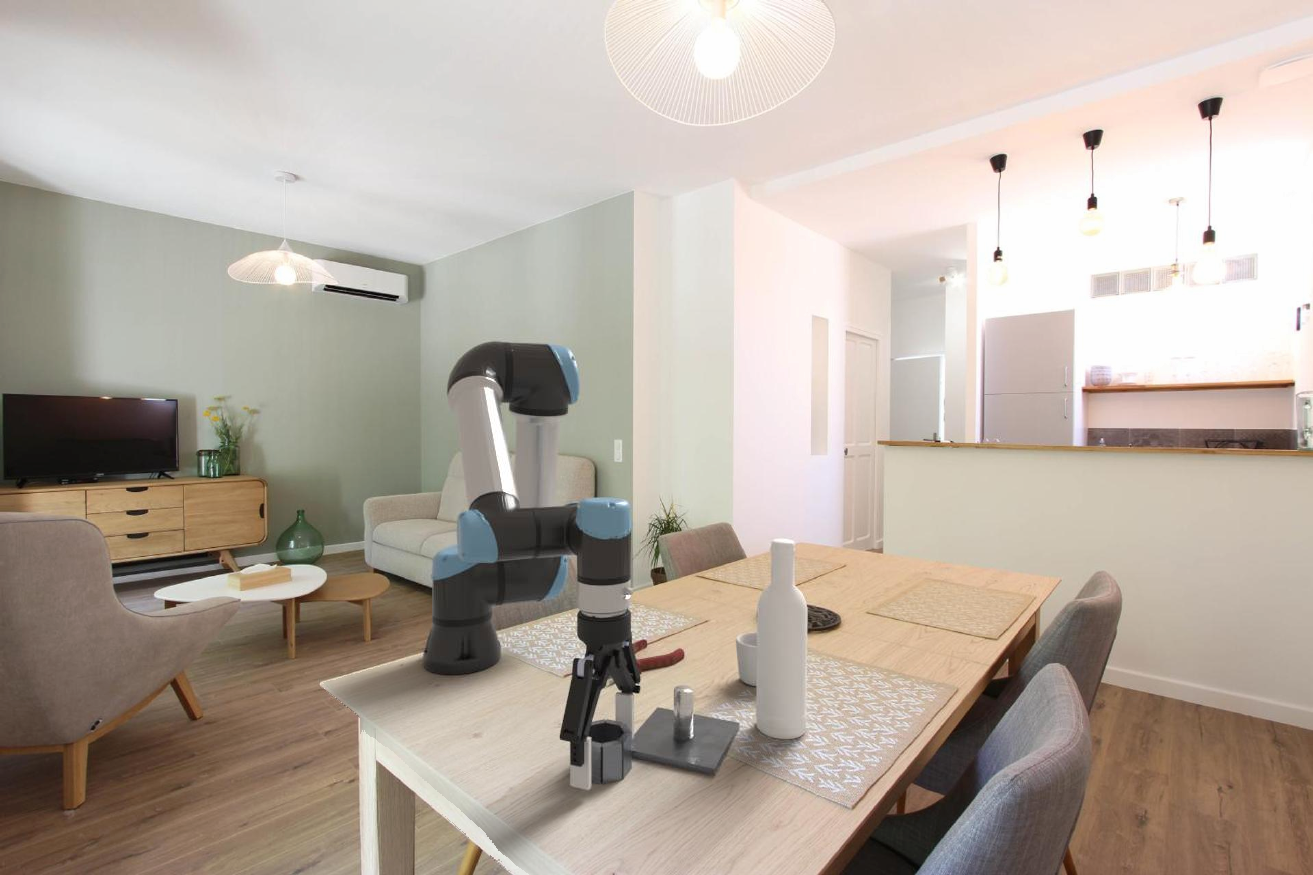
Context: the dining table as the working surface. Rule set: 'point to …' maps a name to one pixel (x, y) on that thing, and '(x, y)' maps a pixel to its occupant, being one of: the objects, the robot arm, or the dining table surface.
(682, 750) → the piston jig
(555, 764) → the dining table surface
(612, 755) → the ring
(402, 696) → the dining table surface
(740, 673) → the cup
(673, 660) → the pliers
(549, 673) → the dining table surface
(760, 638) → the bottle
